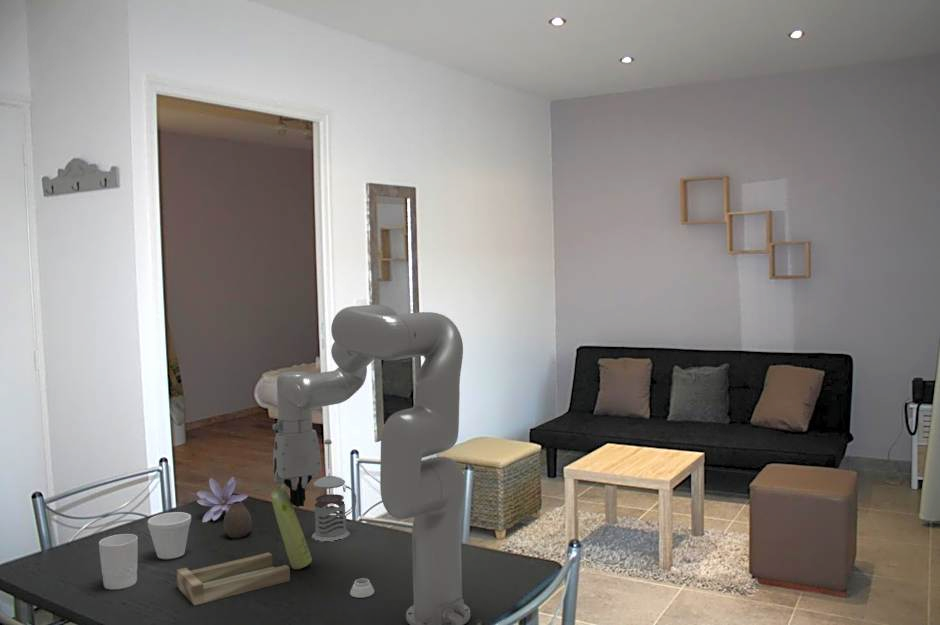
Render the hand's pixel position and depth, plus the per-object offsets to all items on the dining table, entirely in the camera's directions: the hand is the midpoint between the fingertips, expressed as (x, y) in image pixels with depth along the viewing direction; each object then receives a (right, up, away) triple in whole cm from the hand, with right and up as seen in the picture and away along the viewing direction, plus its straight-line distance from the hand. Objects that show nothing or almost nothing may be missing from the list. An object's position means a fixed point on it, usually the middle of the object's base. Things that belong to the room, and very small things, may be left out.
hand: (297, 505), depth 188 cm
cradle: (-11, -15, -7) cm, 21 cm away
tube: (+1, -14, +1) cm, 14 cm away
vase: (-21, -14, +24) cm, 35 cm away
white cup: (-38, -16, -7) cm, 42 cm away
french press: (+4, -13, +24) cm, 27 cm away
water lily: (-30, -13, +39) cm, 51 cm away
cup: (-33, -15, +10) cm, 38 cm away
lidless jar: (+17, -16, -15) cm, 27 cm away
